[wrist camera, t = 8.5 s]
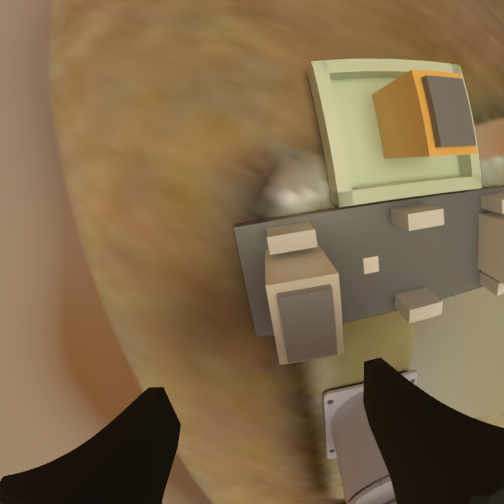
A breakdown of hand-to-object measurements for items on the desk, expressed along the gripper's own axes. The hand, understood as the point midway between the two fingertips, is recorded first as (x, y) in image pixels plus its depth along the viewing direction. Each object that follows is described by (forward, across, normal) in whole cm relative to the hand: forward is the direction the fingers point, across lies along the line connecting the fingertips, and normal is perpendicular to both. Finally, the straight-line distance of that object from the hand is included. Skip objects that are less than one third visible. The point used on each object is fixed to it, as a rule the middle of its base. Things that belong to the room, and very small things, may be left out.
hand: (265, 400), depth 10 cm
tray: (+10, -10, -9) cm, 17 cm away
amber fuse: (+9, -10, -9) cm, 17 cm away
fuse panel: (+10, -10, -1) cm, 14 cm away
